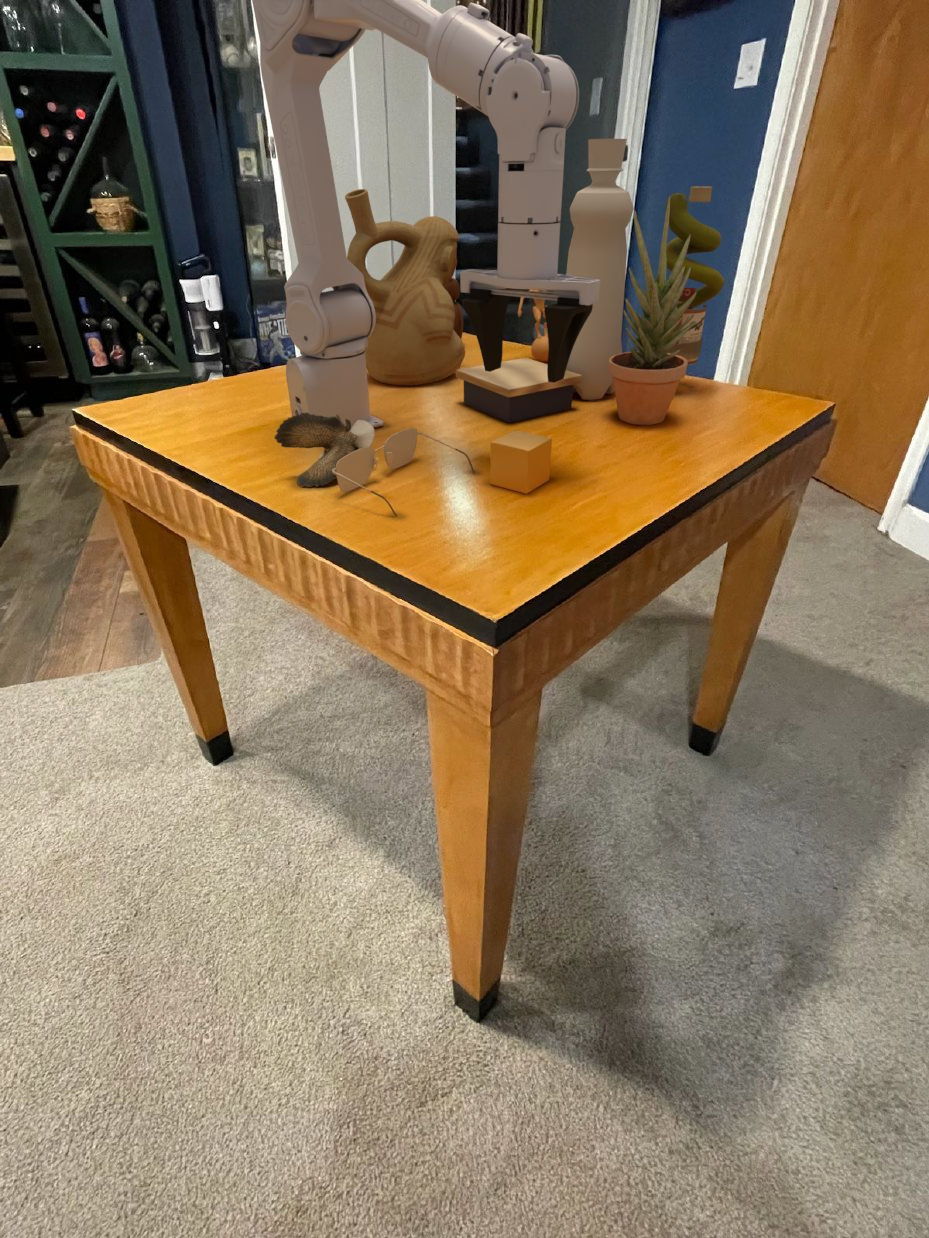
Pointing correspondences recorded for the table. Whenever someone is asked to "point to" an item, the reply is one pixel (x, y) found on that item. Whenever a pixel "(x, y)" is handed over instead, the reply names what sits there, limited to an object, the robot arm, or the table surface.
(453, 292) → the wooden figurine
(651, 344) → the potted plant
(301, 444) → the eagle figurine
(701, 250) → the snake in a can
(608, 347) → the bottle
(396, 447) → the eyeglasses
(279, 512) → the table surface
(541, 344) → the figurine
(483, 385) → the box
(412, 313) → the ceramic vessel
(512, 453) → the block
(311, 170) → the robot arm
